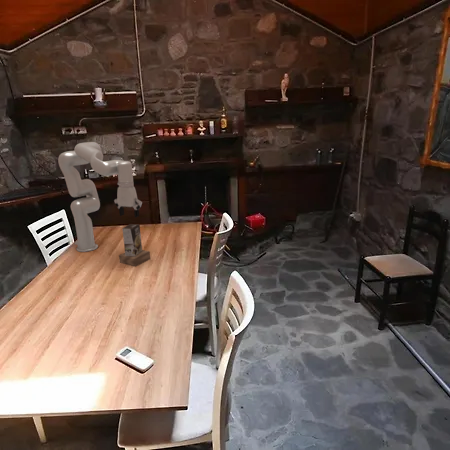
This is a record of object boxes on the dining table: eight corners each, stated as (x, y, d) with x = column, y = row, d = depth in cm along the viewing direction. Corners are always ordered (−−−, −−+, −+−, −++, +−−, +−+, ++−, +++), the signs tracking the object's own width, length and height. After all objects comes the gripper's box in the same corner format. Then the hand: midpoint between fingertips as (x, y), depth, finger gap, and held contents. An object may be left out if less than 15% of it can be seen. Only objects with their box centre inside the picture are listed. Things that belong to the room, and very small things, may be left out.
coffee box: (135, 256, 193) (132, 228, 188) (125, 256, 194) (121, 228, 189) (142, 250, 201) (140, 223, 196) (132, 250, 202) (129, 223, 198)
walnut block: (119, 263, 197) (118, 255, 196) (135, 256, 207) (134, 248, 205) (135, 267, 191) (134, 258, 190) (150, 259, 201) (149, 251, 200)
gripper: (108, 185, 185) (111, 216, 191) (135, 187, 179) (138, 219, 185) (117, 182, 192) (120, 212, 197) (144, 184, 186) (146, 215, 191)
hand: (129, 216), depth 191 cm, fingers open, 9 cm apart
